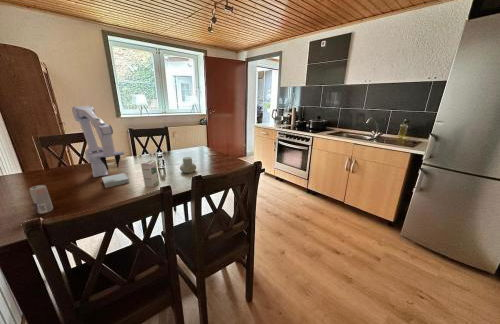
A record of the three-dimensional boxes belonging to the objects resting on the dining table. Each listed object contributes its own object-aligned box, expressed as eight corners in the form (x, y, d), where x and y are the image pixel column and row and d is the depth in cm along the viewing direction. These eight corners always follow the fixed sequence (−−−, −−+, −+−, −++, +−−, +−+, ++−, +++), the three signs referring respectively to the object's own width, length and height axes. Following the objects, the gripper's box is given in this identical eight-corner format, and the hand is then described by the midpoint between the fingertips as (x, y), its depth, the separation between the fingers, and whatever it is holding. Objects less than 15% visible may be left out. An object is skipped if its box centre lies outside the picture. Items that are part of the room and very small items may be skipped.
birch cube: (108, 170, 122) (106, 163, 121) (116, 168, 125) (115, 162, 124) (109, 172, 119) (107, 165, 118) (118, 171, 122) (116, 163, 121)
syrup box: (153, 187, 118) (149, 163, 114) (144, 186, 119) (140, 162, 115) (159, 183, 123) (156, 160, 119) (150, 182, 125) (147, 159, 120)
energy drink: (44, 208, 96) (36, 184, 92) (56, 207, 96) (49, 184, 92) (34, 214, 90) (24, 190, 87) (46, 213, 91) (38, 189, 87)
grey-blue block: (103, 181, 125) (101, 177, 124) (125, 177, 133) (124, 173, 132) (105, 188, 117) (104, 183, 116) (129, 183, 124) (128, 178, 123)
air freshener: (185, 175, 136) (184, 161, 133) (178, 172, 141) (176, 158, 137) (198, 170, 144) (197, 157, 141) (191, 168, 149) (190, 155, 146)
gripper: (92, 149, 110) (98, 172, 114) (123, 145, 119) (127, 167, 123) (91, 147, 115) (97, 169, 120) (121, 143, 124) (125, 164, 128)
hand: (112, 168), depth 122 cm, fingers closed on birch cube, 4 cm apart
